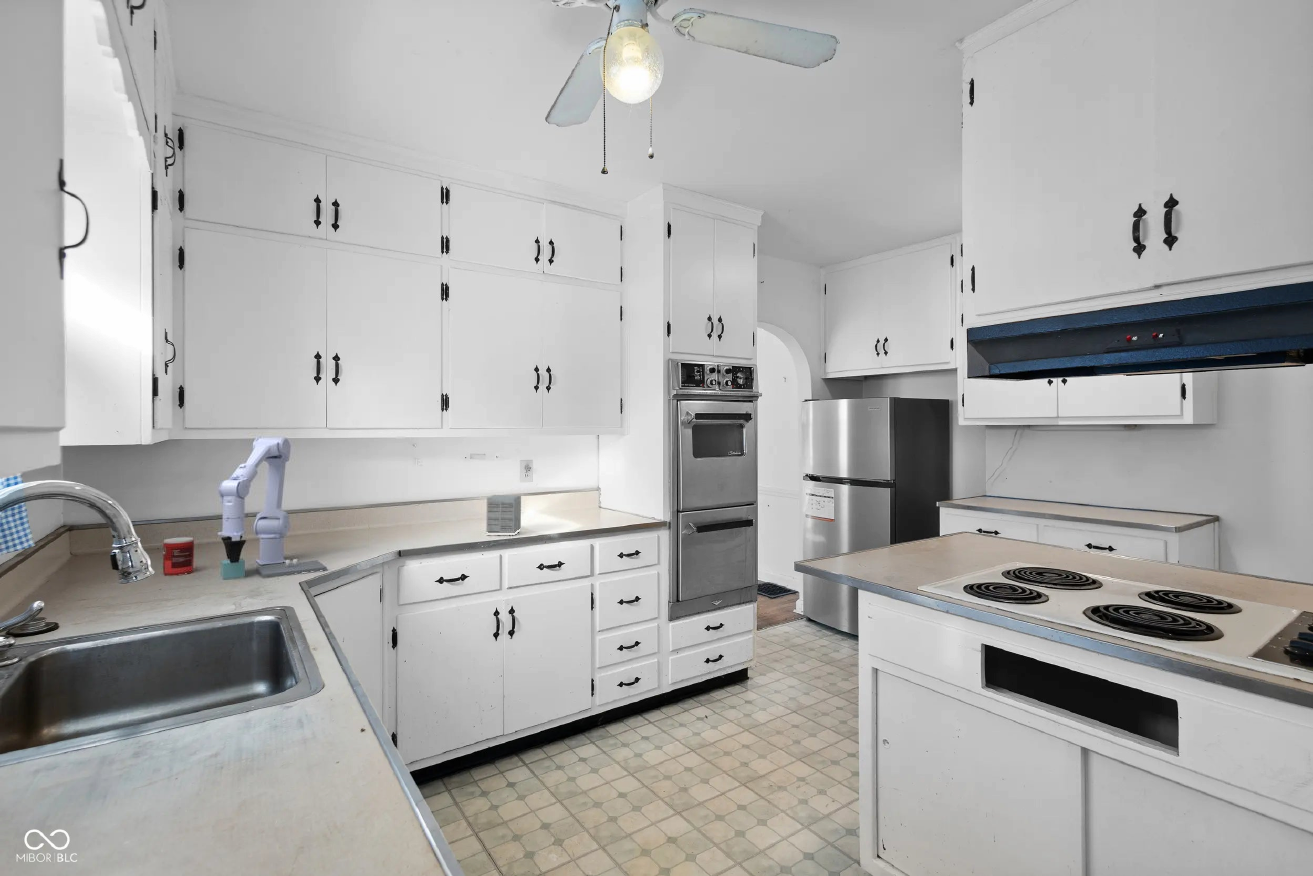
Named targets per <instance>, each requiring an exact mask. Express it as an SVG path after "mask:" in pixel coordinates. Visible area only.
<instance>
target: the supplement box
mask: <svg viewBox="0 0 1313 876" xmlns="http://www.w3.org/2000/svg"><path fill="white" fill-rule="evenodd" d="M521 513H522V496H521V495H517V494H516V495H515V494H505V495H504V494H495V495H491V496H488V497H486V528H485V529H486V530H485V532H488V533H515V532H516V531H517V530H519V529H520V528H521V527H522V526H521V524H522V523H521V522H522V521H521V520H522V518H521V517H522V514H521ZM521 529H522V528H521Z"/></svg>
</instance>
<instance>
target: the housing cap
mask: <svg viewBox="0 0 1313 876" xmlns="http://www.w3.org/2000/svg"><path fill="white" fill-rule="evenodd" d="M220 571H221V572H220V573H221V574H220V575H221V576H222V577H221V578H222V580H230V579H229V578H232V579H239V578H238V577H241V578H245V577H246V576H245V575H246V573H245V572H246V561H245V559H244V558H240V559H239V562H238V563H230V560H229V559H225V560H221V570H220Z"/></svg>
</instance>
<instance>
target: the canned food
mask: <svg viewBox="0 0 1313 876" xmlns="http://www.w3.org/2000/svg"><path fill="white" fill-rule="evenodd" d="M194 550H195V540H194V537H188V536H186V537H173V538H166V539H164V540H163V551H162V552H163V553H162V554H163V555H162V557H163V559H162V560H163V561H162V563H163V564H162V568H163V572H162V573H163V575H164V574H166V575H165V576H167V575H177V576H180V575H179V574H185V573H189V574H191V573H190V572H192V571H194V565H195V564H194V563H195V562H194V560H195V557H194V556H195V551H194ZM192 573H193V572H192ZM185 575H186V574H185Z"/></svg>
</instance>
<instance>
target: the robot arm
mask: <svg viewBox="0 0 1313 876" xmlns="http://www.w3.org/2000/svg"><path fill="white" fill-rule="evenodd" d="M291 446H292V445H291V443H290V441H289V439H288V438H287V437H284V436H283V437H262V436H258V437H256V438H255V439H254V441H253V443H252V452H251V454H250V456H249V457H248V459H247V461H246V462H245V463H240V465H239V466H238V467H237V468H236V470H234V471H233V473H232V474H231V476H230V477H229V479H226V480H225V479H224V480H223V481H221V483H220V485H219V488H218V489H217V490H218V491H217V492H218V495H219V498H220V502H221V504H222V531H221V532H220V531H219V532H217V535H218V536H223V537H220V539H221V541H222V543H223V545H224V549H225V553H226V554H225V556H226V558H227V560H230V563H238V562H239V559H241V554H242V551H243V548H244V546H245V544H246V542H247V540H246V539H243V535H245V534H246V530H245V511H246V510H245V509H246V508H245V507H246V506H245V505H246V504H245V503H246V499H245V498H247V496H248V495H249V493H250V488H251V486H252V485H251V483H252V482H253V480H254V479H255V478H256V477H257V474H258V473H259V472H258V470H257V469H258V468H259V467H260V466H261V464H262V463H263V462H266V463H267V464H268V472H267V481H266V490H265V491H266V492H265V501H264V509H262V510H261V511H259V512H258V513H257V514H256V516H255V521H254V523H253V527H252V528H253V533H254V534H255V535H256V536H257V539H259V559H255V561H256V562H257V564H258V565H260V566H266V565H275V564H284V563H286V560H287V559H285V558H284V552H285V549H284V548H285V547H284V546H285V545H284V544H285V542H284V541H285V537H286V536H287V535H288V533H289V532H290V528H291V523H290V515H289V514H288V513H287V512H286V511H285V510H283V508H282V506H283V505H282V504H283V495H284V484H285V475H286V465H287V462H289V461H290V456H291ZM283 562H284V563H283Z"/></svg>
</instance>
